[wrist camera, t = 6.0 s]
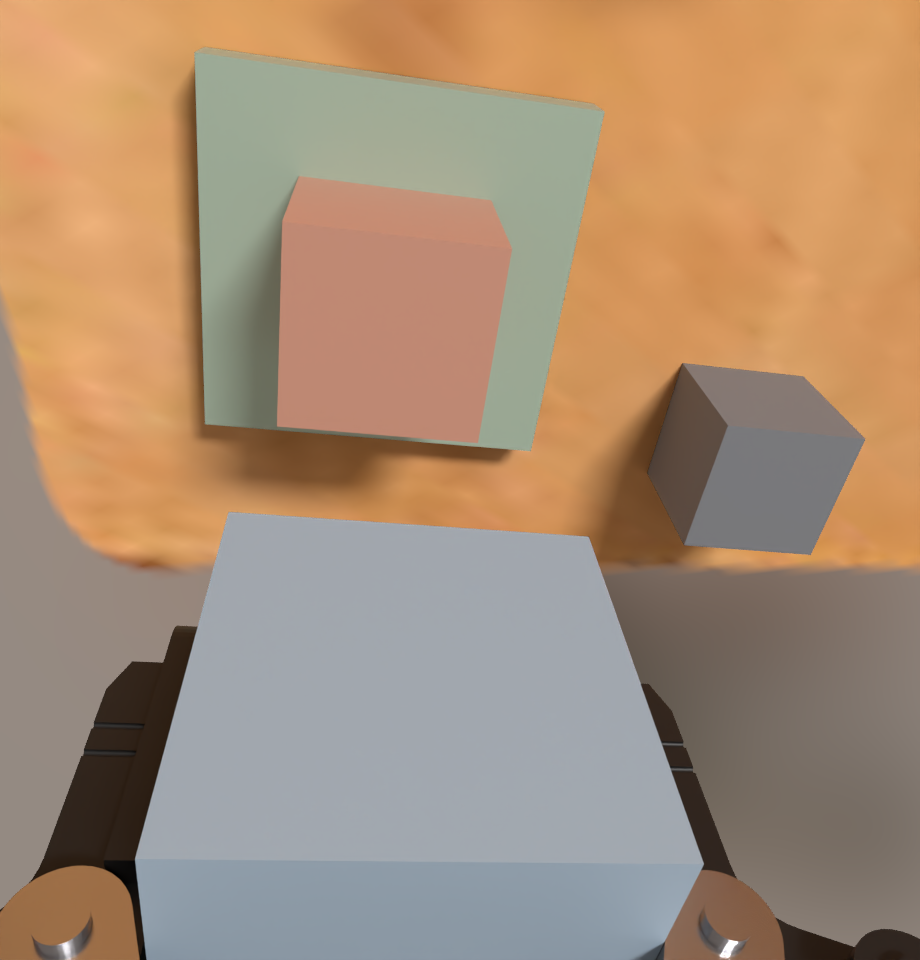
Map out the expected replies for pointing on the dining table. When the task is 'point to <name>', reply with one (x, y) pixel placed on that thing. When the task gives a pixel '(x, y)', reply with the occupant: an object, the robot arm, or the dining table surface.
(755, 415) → the slate brick
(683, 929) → the robot arm
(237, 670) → the blue brick
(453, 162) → the build plate
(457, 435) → the base brick
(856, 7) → the dining table surface
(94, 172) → the dining table surface
